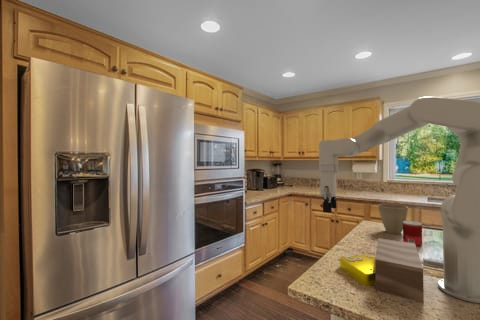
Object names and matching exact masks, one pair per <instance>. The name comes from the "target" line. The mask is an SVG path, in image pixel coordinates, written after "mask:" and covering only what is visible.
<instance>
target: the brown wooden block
mask: <svg viewBox="0 0 480 320" xmlns="http://www.w3.org/2000/svg"><path fill="white" fill-rule="evenodd" d="M375 257H376V258H375V273H376V285H375V291H378V292H381V293H386V294H389V295H393V296H398V297H401V298H406V299H409V300H412V301H416V302H421V303H424V301H425V300H424V298H425V296H424V295H425V294H424V293H425V292H424V291H425V290H424V267H423V264H422V262H421V257H420V255H419V252H418V247H416V245H415V243H408V242H403V240H402V241H400V240H393V239H389V238H388V239H386V238H381V237H378V238H377V243H376V251H375Z"/></svg>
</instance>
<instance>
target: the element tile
mask: <svg viewBox="0 0 480 320" xmlns="http://www.w3.org/2000/svg"><path fill="white" fill-rule="evenodd" d="M375 258H376V256H374V255H371V254H360V255H349V256H340V258H339V269H341V270H342V271H343V272H345V273H346V274H347V275H349V276H350V277H351V278H353V279H354V280H356V281H357V282H358V283H359V284H361V285H365V286H376V273H375Z"/></svg>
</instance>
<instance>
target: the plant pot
mask: <svg viewBox="0 0 480 320" xmlns="http://www.w3.org/2000/svg"><path fill="white" fill-rule="evenodd" d="M377 207H378V210H379V215H380V216H379V217H380V219H381V221H382V224H383V225H382V226H383V227H384V229H385V231H386V233H388V234H391V235H400V234H402V233H403V221H407V217H408V210H409V206H407V205H404V204H400V203H399V204H398V203H379V204H378V206H377Z"/></svg>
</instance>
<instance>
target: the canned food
mask: <svg viewBox="0 0 480 320" xmlns="http://www.w3.org/2000/svg"><path fill="white" fill-rule="evenodd" d="M402 242H408V243H415V245H416V248H418V247H422V245H423V223H421V222H418V221H412V220H406V221H403V230H402Z"/></svg>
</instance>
